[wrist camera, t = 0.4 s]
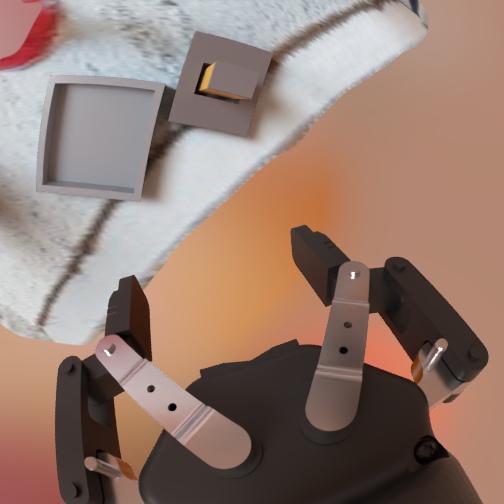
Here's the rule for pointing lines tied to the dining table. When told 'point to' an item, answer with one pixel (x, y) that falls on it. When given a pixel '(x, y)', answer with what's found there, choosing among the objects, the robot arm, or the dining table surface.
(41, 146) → the grey tray
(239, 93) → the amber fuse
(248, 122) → the socket plate
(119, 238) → the dining table surface
